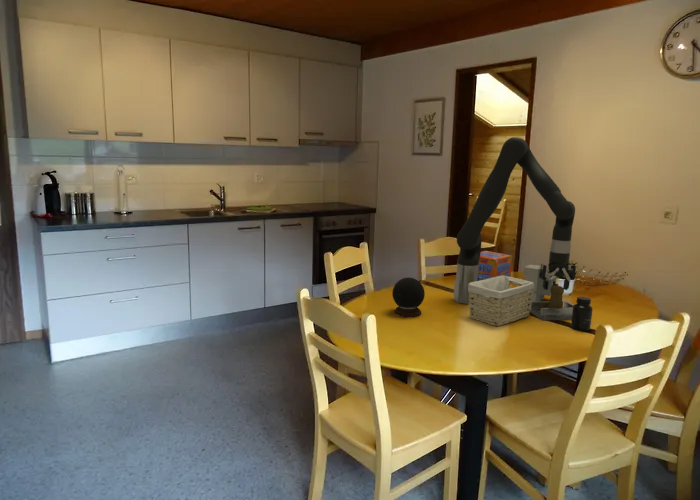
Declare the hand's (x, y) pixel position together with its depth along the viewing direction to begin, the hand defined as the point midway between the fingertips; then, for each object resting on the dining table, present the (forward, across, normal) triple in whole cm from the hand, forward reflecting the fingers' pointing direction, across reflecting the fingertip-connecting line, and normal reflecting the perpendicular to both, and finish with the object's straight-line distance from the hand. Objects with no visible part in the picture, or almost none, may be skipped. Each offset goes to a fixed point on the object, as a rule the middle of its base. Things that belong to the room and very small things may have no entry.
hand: (555, 289), depth 204 cm
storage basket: (+12, -24, -1) cm, 26 cm away
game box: (+12, -8, +50) cm, 52 cm away
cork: (+10, +1, -1) cm, 10 cm away
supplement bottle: (+11, +2, -16) cm, 20 cm away
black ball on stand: (+12, -60, +7) cm, 61 cm away
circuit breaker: (+11, +5, +22) cm, 25 cm away
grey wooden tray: (+11, 0, 0) cm, 11 cm away
